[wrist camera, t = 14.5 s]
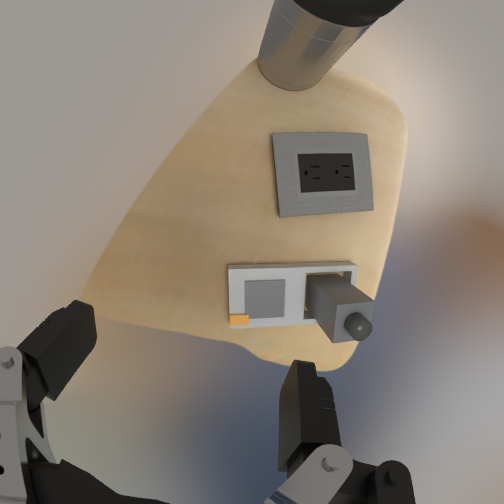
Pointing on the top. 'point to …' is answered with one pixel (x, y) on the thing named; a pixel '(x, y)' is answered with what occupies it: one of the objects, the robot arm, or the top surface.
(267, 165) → the top surface
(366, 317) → the plug
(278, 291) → the grey rectangular frame
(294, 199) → the electrical outlet
